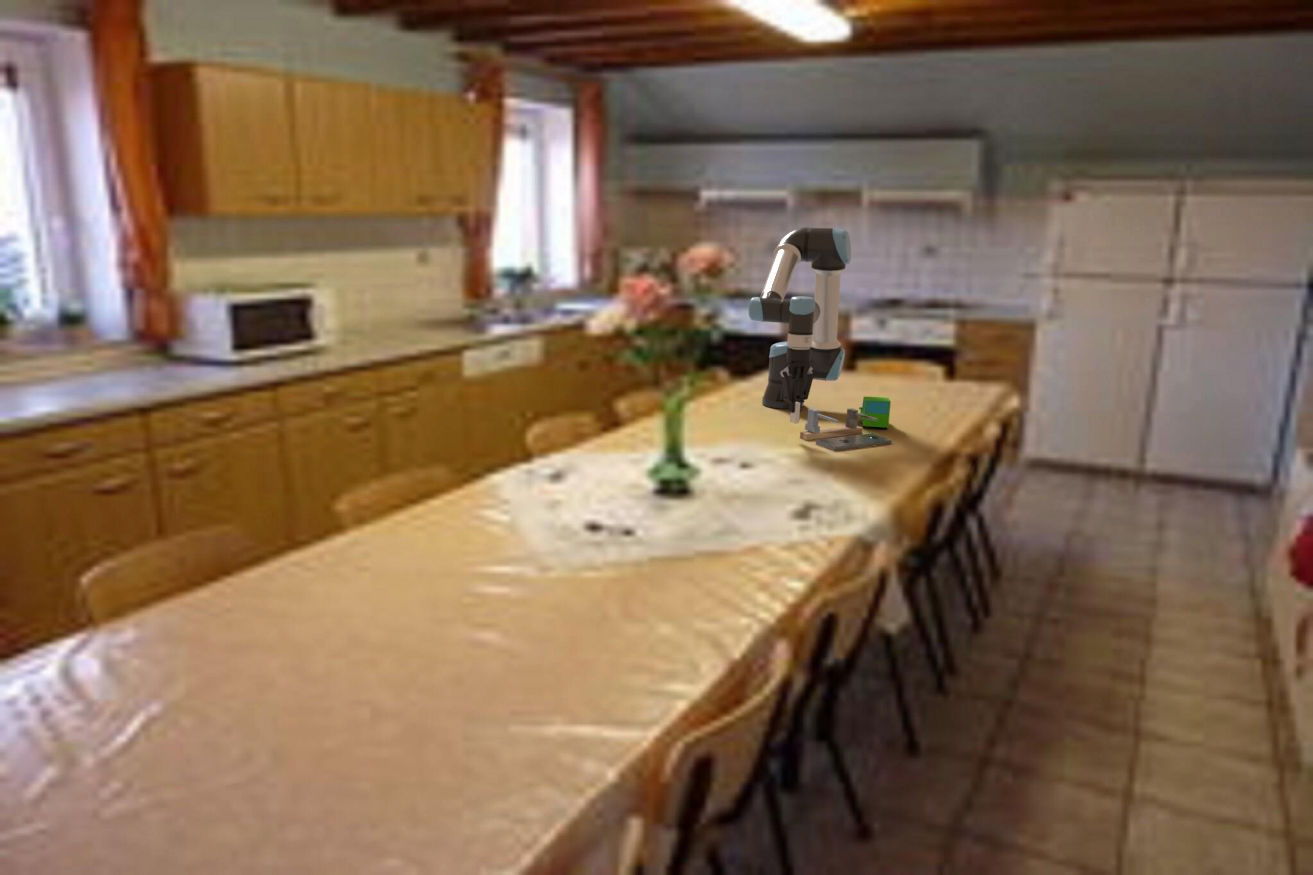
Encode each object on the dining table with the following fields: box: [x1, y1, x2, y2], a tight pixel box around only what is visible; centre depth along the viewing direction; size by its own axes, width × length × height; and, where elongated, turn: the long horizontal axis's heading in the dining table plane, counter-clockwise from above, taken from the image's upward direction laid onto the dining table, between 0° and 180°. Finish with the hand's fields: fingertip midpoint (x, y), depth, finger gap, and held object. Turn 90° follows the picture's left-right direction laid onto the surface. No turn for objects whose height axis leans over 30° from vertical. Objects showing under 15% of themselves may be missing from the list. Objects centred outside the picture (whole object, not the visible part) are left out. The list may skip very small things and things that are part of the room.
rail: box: [799, 407, 878, 441], centre depth 299 cm, size 13×23×8 cm, turn 119°
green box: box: [858, 396, 892, 430], centre depth 319 cm, size 10×13×10 cm
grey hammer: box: [804, 407, 839, 433], centre depth 295 cm, size 14×2×7 cm, turn 29°
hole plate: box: [815, 432, 893, 452], centre depth 295 cm, size 9×23×1 cm, turn 119°
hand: (794, 422), depth 296 cm, fingers closed
